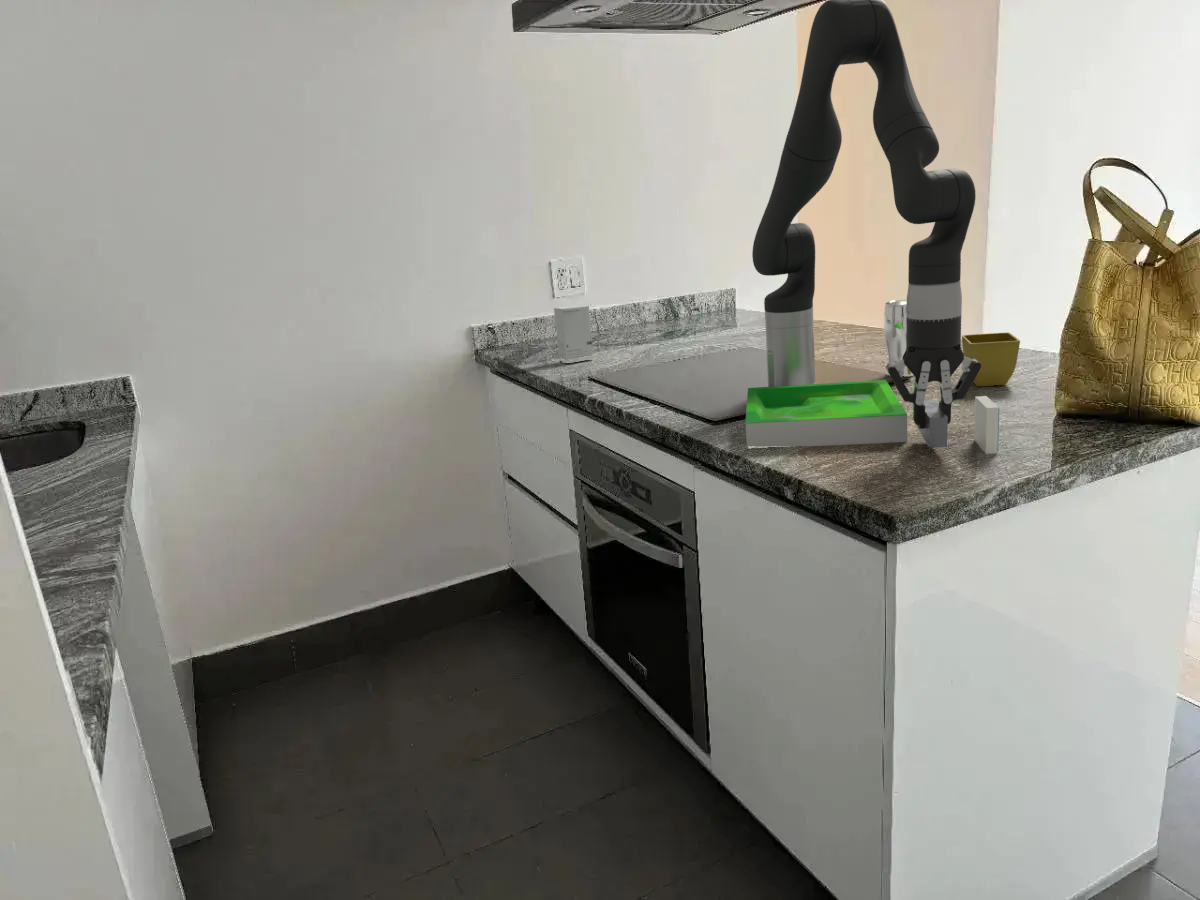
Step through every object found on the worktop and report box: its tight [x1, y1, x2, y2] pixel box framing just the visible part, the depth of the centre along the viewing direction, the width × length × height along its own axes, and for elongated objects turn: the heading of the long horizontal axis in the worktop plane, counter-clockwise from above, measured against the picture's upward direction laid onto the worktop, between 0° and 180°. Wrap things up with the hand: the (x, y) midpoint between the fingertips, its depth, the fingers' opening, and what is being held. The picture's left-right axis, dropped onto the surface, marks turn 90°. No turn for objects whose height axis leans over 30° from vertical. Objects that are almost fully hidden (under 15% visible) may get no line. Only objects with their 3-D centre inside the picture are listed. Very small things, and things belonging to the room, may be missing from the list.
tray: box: [745, 379, 908, 447], centre depth 151 cm, size 25×25×5 cm
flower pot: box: [961, 332, 1021, 387], centre depth 165 cm, size 9×9×9 cm
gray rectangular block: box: [916, 398, 949, 448], centre depth 131 cm, size 2×10×4 cm, turn 170°
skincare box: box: [553, 304, 594, 360], centre depth 233 cm, size 8×6×15 cm
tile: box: [974, 395, 1000, 455], centre depth 130 cm, size 2×7×7 cm, turn 170°
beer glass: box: [883, 299, 915, 378], centre depth 179 cm, size 7×7×15 cm
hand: (932, 426), depth 132 cm, fingers closed on gray rectangular block, 2 cm apart
